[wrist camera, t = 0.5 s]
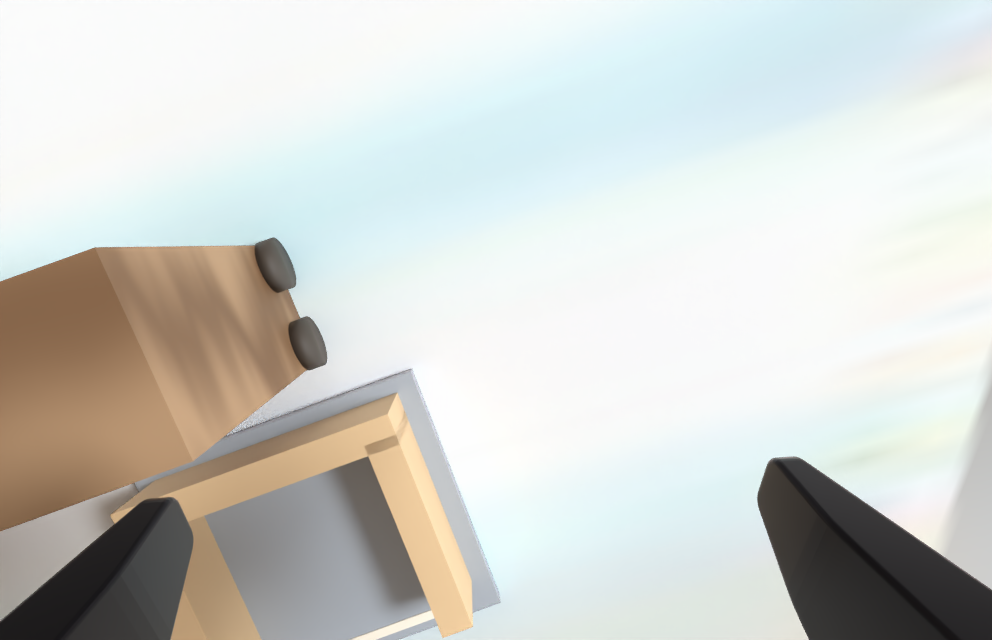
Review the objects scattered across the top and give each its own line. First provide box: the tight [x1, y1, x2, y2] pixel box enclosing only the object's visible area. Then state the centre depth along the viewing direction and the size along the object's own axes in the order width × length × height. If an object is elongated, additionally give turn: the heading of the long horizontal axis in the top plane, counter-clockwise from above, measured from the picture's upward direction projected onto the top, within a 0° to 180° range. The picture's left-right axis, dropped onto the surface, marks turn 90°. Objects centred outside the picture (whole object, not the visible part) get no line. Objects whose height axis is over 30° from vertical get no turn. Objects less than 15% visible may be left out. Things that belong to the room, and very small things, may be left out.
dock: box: [110, 369, 500, 640], centre depth 23 cm, size 11×12×4 cm
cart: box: [0, 238, 327, 531], centre depth 18 cm, size 5×6×11 cm
